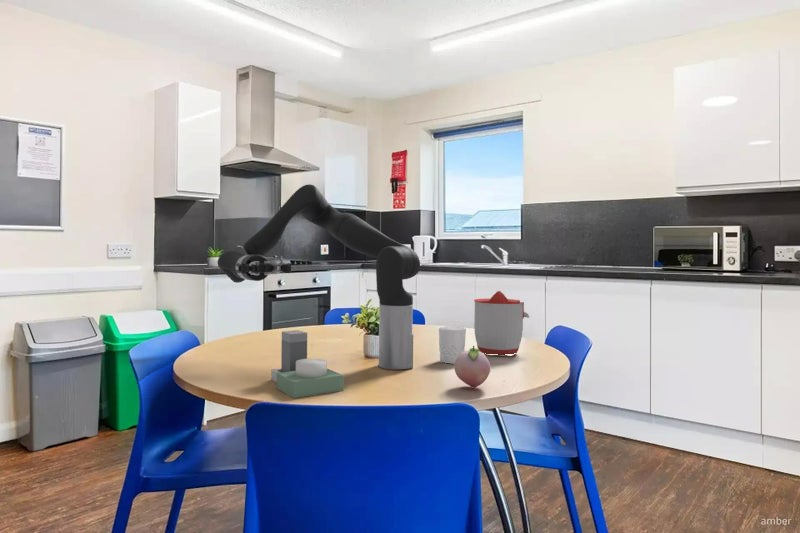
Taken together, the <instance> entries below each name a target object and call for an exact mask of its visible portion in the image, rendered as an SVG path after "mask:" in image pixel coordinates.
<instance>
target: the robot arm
mask: <svg viewBox="0 0 800 533" xmlns="http://www.w3.org/2000/svg"><path fill="white" fill-rule="evenodd" d="M298 213H300V214H301V216H302V217H303V218H304V219H305V220H307V221H308V222H310V223H311V224H314V225H316V226H318V227H320V228H322V229H324V230H325V231H327V233H329V235H331V236H332V237H333V238H335V239H336V240H337V241H338V242H340V243H342V244H343V245H344V246H345V247H347V248H349V249H350V250H352V251H354V252H357V253H360V254H362V255H364V256H365V255H366V256H368V257H372V258H374V259H376V261H375V275H376V276H375V277H376V292H377V297H378V299H379V304H378V305H379V306H378V307H379V308H378V309H379V310H378V311H379V312H378V314H379V315H378V317H379V319H378V320H379V321H378V322H379V323H378V367H379V368H381V369H385V370H407V369H413V367H414V332H413V321H414V320H413V314H414V313H413V310H414V306H413V304H414V301H413V300H414V296H413V295H412V293H410V292H408V291H407V290H406V289H405V287H404V284H403V282H404V281H403V280H408V279H412V278H413V277H415V276H416V275H417V274H418V273H419V271H420V270H421V262H420V257H419V256H418V254H417V252H416V251H415V250H414V249H412V248H411V247H409V246H407V245H405V244H402V243H401V242H398V241H396V240H394V239H392V238H391V237H389V236H387V235H385V234H384V233H383V232H381V231H379V230H378V229H377V228H375V227H374V226H372V225H370V224H369V223H368V222H366V221H365V220H364V219H362V218H360V217H358V216H357V215H356V214H354V213H350V212H341V211H338V210H337V209H336V208H335V207H334V206H332V205H331V204H330V203H329V202H328V200H327V199H326V198H325V197H324V195H323V194H322V193H321V191H320V189H319V188H318V187H317V186H315V185H314V184H311V183H310V184H308V183H307V184H304V185H302V186H301V187H299V188H298V189H297V190H296V191H295V192H294V193H293V194H292V195H291V196H290V197H289V198H288V199H287V200H286V202H284V204H283V205H282V206H281V207H280V208H279V210H278V211H277V212H276V213H275V214H274V216H273V217H272V218H271V219H270V220H269V221H268V222H267V223H266V224H265V225H264V226H263V227H261V229H260V230H258V231H257V232H256V233H255V234H253V236H251V237H250V238H249V239H247V240H246V241H245V243H243V245H242V246H243V250H244V251H245V253H246V255H245V254H243V253H240V252H239V251H238V250H235V249H230V250H226V251H224V252H223V253H221V254H220V256H218V259H217V266H218V268H219V269H220V270H221V271H222V272H223V273H224V274H225V275H226V276H227V277H228V279H230V280H231V281H232V282H234V283H237V284H238V283H242V282H244V281H246V280H247V281H253V282H260V281H263V280H265V279H267V277H268V276H269V275H279V274H280V273H281V274H287V273H288V274H290V273H292V263H290V262H289V263H286V262H281V263H280V262H279V261H270V260H269V259H267V257H266V255H267V254H268V253H269V252H271V251H272V250H273V249H274V248H275V247H276V246H277V245H278V243H280V241H281V238H283V237H282V236H283V235H284V232H285V230H286V228H287V226H288V225H289V222H290V221H291V220H292V219H293V218H294V217H295V216H296V215H297V214H298Z"/></svg>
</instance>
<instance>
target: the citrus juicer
mask: <svg viewBox="0 0 800 533" xmlns="http://www.w3.org/2000/svg"><path fill="white" fill-rule="evenodd" d="M473 302H474V325H473V327H474V336H475V341H476V346H477V349H479V350H480V352H482V353H486V354H498V355H505V354H514V353H518V351H519V350H520V345H521V343H522V342H521V341H522V338H523V329H524V318H529V319H530V315H529V313H527V312H526V311H525V302H524V301H522V302H521V300H520V299H513V298H512V299H511V298H510V299H509V298H507V297H506V295H505V294H504V293H503V292H502V291H500V290H497V291H496V292H495V293H494V294H493V295H492V296H491V297H490V298H476V299H474V300H473ZM486 354H485V355H486Z"/></svg>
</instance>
